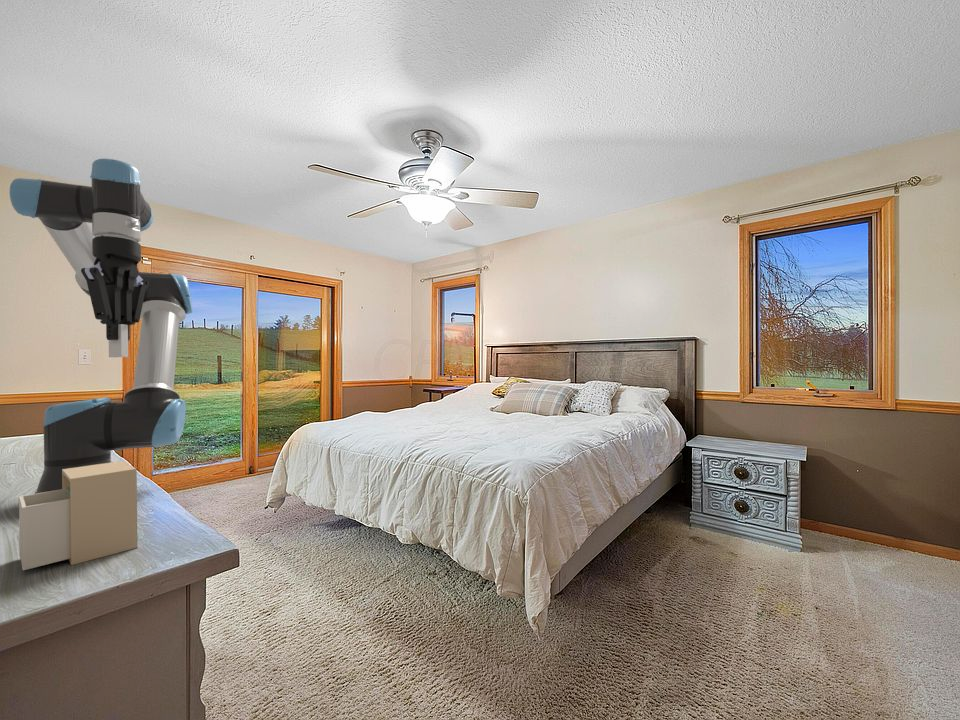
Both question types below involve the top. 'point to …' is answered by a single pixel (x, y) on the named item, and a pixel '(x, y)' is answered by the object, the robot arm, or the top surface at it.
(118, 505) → the sleeve
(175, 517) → the top surface
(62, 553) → the drawer box
